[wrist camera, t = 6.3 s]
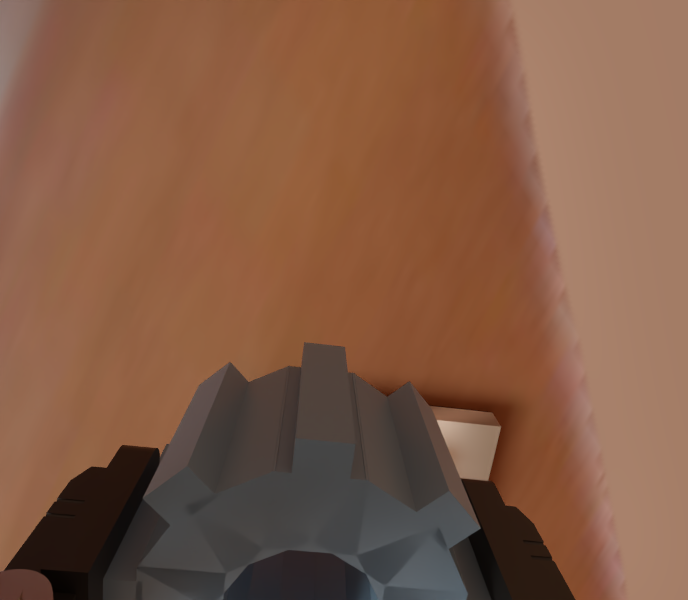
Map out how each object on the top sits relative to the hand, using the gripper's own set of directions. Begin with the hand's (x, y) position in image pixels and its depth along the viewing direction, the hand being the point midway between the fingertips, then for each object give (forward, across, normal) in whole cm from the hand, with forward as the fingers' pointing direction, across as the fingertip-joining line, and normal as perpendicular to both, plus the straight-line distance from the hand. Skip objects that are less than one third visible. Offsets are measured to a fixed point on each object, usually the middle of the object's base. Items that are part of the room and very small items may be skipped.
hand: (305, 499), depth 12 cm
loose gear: (+1, 0, 0) cm, 1 cm away
